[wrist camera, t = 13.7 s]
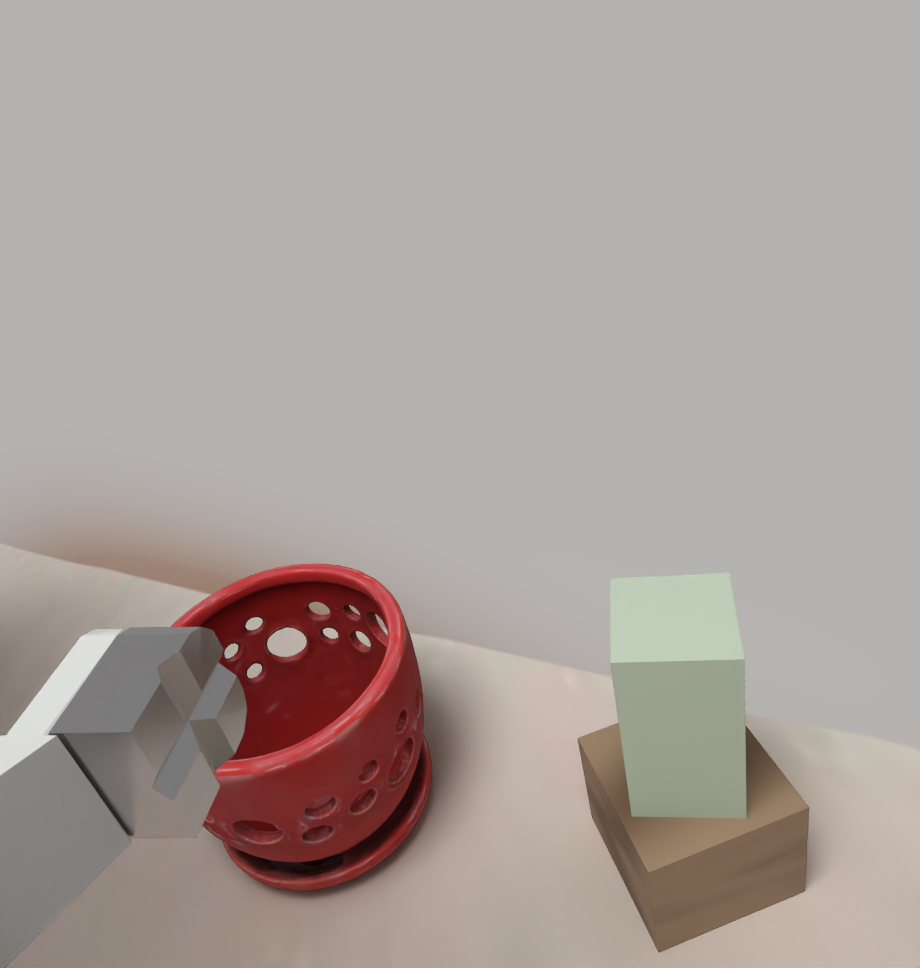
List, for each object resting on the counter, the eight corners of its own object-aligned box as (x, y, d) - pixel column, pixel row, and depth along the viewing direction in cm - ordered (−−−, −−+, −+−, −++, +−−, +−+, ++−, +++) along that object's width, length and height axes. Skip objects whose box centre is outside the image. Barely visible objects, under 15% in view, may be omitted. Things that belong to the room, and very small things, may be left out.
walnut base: (592, 817, 40) (577, 738, 37) (718, 767, 41) (715, 686, 38) (658, 952, 34) (648, 872, 31) (804, 890, 35) (809, 807, 32)
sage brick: (746, 818, 32) (744, 659, 27) (631, 816, 33) (610, 662, 28) (733, 727, 36) (729, 572, 31) (629, 728, 37) (610, 578, 32)
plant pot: (169, 877, 42) (63, 725, 36) (310, 691, 52) (246, 544, 45) (376, 970, 36) (294, 807, 30) (494, 739, 45) (451, 577, 39)
